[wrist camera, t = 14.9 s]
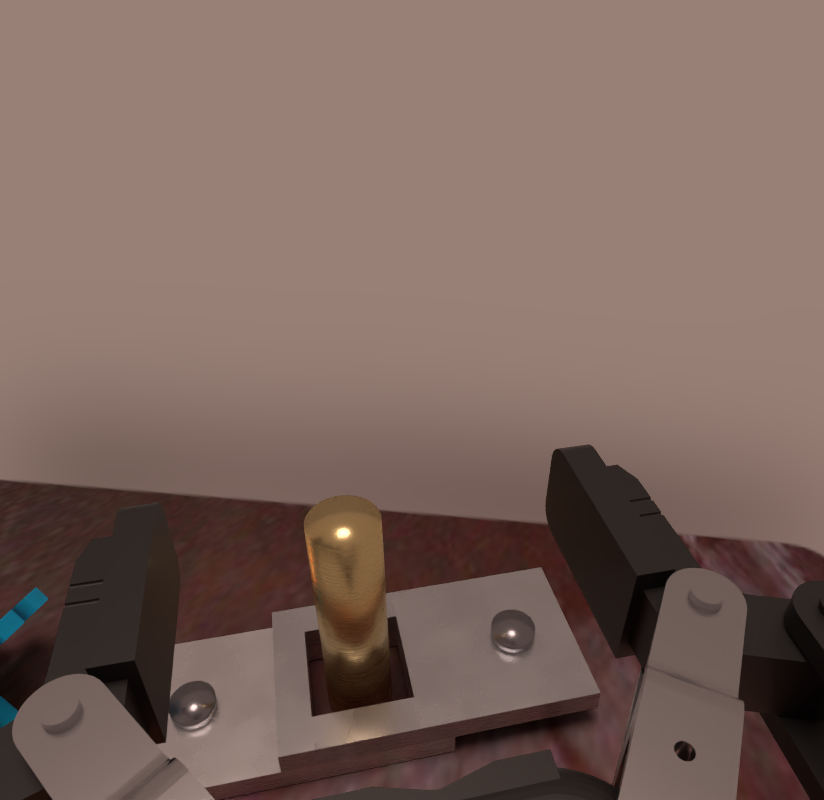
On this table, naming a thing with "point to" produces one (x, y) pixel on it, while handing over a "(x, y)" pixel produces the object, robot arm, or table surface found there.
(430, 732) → the bolted metal plate
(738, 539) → the table surface
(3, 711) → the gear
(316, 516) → the brass pin
